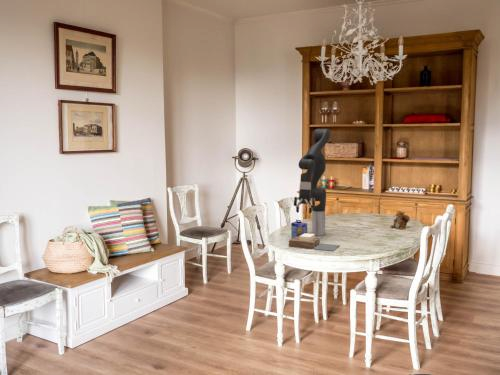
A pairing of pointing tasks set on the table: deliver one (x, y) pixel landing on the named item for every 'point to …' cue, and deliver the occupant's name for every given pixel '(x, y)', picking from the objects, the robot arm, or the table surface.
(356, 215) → the table surface
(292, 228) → the ink cartridge box
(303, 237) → the cream rectangular block
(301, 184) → the robot arm
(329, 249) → the mat
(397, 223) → the stuffed squirrel
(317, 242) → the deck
